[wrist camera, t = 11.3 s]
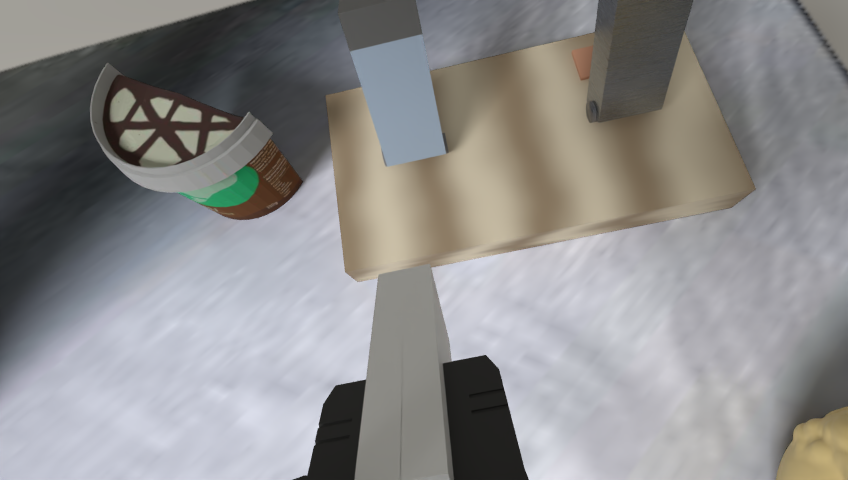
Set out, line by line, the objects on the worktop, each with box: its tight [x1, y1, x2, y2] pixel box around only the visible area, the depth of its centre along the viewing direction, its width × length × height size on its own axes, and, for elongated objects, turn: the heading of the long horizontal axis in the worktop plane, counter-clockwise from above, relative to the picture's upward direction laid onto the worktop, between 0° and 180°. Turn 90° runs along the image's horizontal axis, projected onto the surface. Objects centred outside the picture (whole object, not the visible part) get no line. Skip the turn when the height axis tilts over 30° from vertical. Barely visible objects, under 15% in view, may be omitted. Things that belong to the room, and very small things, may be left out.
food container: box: [90, 63, 303, 220], centre depth 32 cm, size 12×6×10 cm, turn 66°
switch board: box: [325, 31, 756, 282], centre depth 32 cm, size 26×14×3 cm, turn 100°
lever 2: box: [586, 0, 693, 123], centre depth 26 cm, size 4×2×11 cm, turn 100°
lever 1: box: [338, 0, 449, 167], centre depth 28 cm, size 4×2×11 cm, turn 100°
